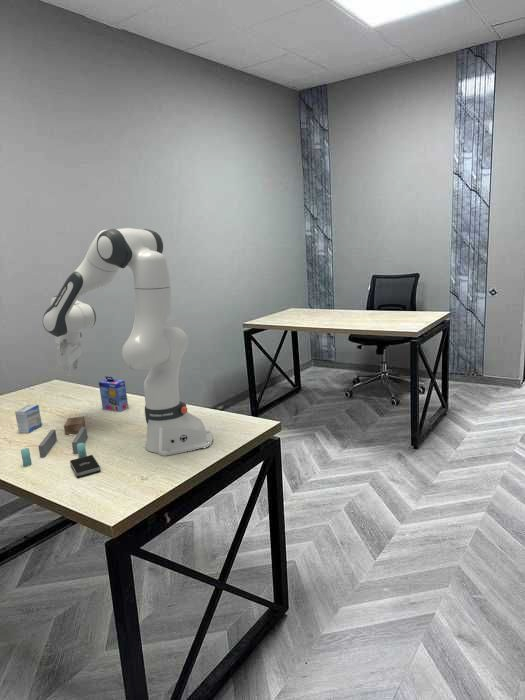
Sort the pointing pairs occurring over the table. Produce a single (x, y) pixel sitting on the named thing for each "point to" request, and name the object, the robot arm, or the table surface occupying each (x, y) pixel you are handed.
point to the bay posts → (27, 458)
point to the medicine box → (28, 418)
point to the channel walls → (52, 438)
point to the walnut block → (74, 425)
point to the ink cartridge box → (113, 394)
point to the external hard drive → (85, 466)
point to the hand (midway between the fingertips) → (72, 372)
